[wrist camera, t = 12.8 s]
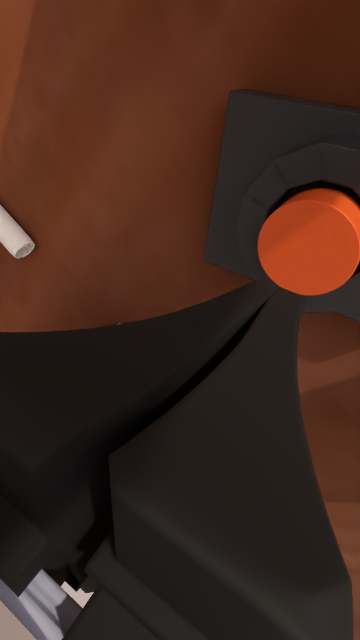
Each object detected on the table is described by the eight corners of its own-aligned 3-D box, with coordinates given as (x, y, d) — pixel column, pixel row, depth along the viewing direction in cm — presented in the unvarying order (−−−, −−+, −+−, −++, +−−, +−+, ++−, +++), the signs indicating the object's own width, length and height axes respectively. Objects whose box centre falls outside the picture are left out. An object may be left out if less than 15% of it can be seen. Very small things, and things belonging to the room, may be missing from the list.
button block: (553, 142, 11) (581, 162, 9) (420, 328, 16) (415, 373, 14) (244, 88, 15) (205, 92, 13) (215, 251, 20) (184, 275, 18)
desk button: (387, 202, 12) (380, 218, 11) (345, 289, 14) (335, 310, 13) (287, 176, 13) (270, 187, 12) (263, 259, 15) (247, 275, 14)
